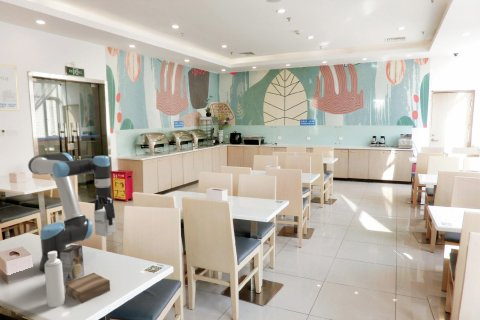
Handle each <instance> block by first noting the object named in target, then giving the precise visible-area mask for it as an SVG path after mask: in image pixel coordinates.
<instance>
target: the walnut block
mask: <svg viewBox="0 0 480 320" xmlns="http://www.w3.org/2000/svg"><path fill="white" fill-rule="evenodd" d="M110 281H111V280H110V279H107V278H106V277H103V276H101V275H99V274H97V273H95V272H92V273H89V274H86V275H83V276H81V277H80V278H78V279H76V280H73V281H71V282H64V290H65V295H67V296H69V297H71V298H72V299H73V300H75V301H76V302H79V303H80V304H83V303H85V302H87V301H90V300H93V299H94V298H97V297H99V296H101V295H103V294H106V293H108V292H110V291H111V284H110V283H111V282H110Z"/></svg>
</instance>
